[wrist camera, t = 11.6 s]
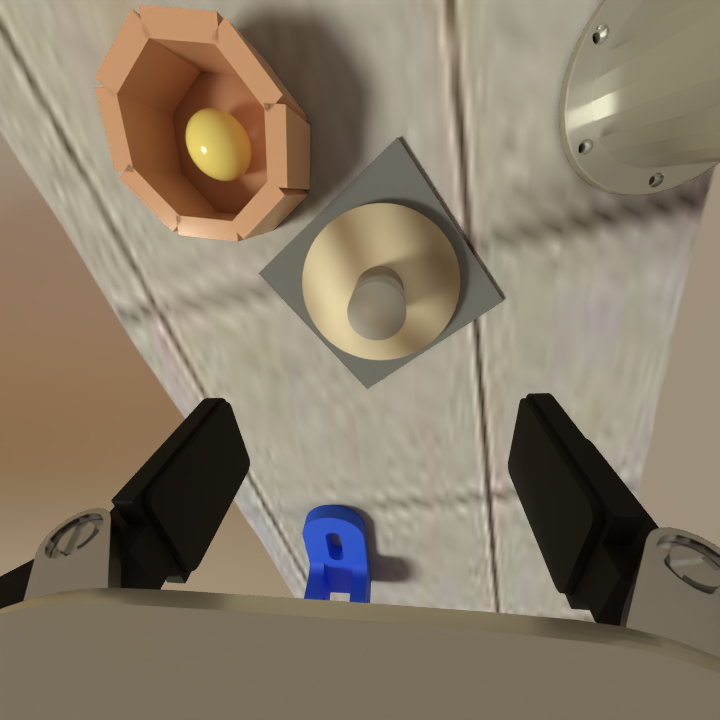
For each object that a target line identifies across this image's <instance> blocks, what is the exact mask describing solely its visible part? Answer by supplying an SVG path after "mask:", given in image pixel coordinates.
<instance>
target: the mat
mask: <svg viewBox="0 0 720 720" xmlns="http://www.w3.org/2000/svg"><path fill="white" fill-rule="evenodd" d="M374 203H391V204H397V205H402V206H405V207H408V208H411V209H413V210H415V211H417V212H419V213H421V214H423V215H424V216H425V217H427V218H428V219H430V220H431V221H432V222H433V223H434V224H436V225H437V226H438V227H439V228H440V229H441V231H442V232H443V233H444V234H445V236H446V237H447V238H448V240H449V242H450V244H451V245H452V247H453V250H454V252H455V255H456V257H457V261H458V265H459V271H460V292H459V298H458V302H457V305H456V308H455V311H454V313H453V315H452V317H451V319H450V321H449V322H448V324H447V326H446V327H445V328H444V330H443V331H442V332H441V333H440V334H439V335H438V336H437V337H436V338H435V339H434V340H433V341H432V342H431V343H429V344H428V345H427V346H425V347H424V348H422V349H420V350H419V351H417V352H415V353H413V354H410V355H408V356H405V357H401V358H397V359H391V360H370V359H364V358H360V357H357V356H353V355H351V354H349V353H347V352H344V351H343V350H341V349H339V348H338V347H336V346H335V345H333V344H332V343H331V342H329V341H328V340H327V339H326V338H325V337H324V336H323V335H322V334H321V332H320V331H319V330H318V329H317V327H316V326H315V324H314V323H313V321H312V319H311V317H310V315H309V313H308V311H307V308H306V305H305V301H304V296H303V288H302V277H303V269H304V264H305V260H306V257H307V254H308V252H309V250H310V248H311V245H312V243H313V242H314V240H315V239H316V237H317V236H318V234H319V233H320V232H321V231H322V230H323V229H324V228H325V227H326V225H328V224H329V223H330V222H331V221H332V220H334V219H335V218H336V217H338V216H340V215H341V214H343V213H344V212H347V211H349V210H351V209H354V208H356V207H359V206H363V205H367V204H374ZM259 274H260V275H261V276H262V277H263V278H264V279H265V281H266V282H267V283H268V284H269V285H270V286H271V287H272V288H273V289H274V290H275V291H276V292H277V293H278V294H279V295H280V297H281V298H282V299H283V300H284V301H285V302H286V303H287V304H288V305H289V306H290V307H291V308H292V309H293V310H294V311H295V313H296V314H297V315H298V316H299V317H300V318H301V319H302V320H303V321H304V322H305V323H306V324H307V325H308V326H309V328H310V329H311V330H312V331H313V332H314V333H315V334H316V335H317V336H318V337H319V338H320V339H321V340H322V341H323V342H324V344H325V345H326V346H327V347H328V348H329V349H330V350H331V351H332V352H333V353H334V354H335V355H336V356H337V357H338V358H339V360H340V361H341V362H342V363H343V364H344V365H345V366H346V367H347V368H348V369H349V370H350V371H351V372H352V373H353V374H354V376H355V377H356V378H357V379H358V380H359V381H360V382H361V383H362V384H363V385H364V386H365V387H366V388H367V389H368V388H369V387H371V386H372V385H374V384H376V383H377V382H379V381H380V380H382V379H383V378H385V377H386V376H388V375H389V374H391V373H393V372H394V371H396V370H397V369H399V368H400V367H402V366H403V365H405V364H406V363H408V362H410V361H411V360H413V359H414V358H416V357H417V356H419V355H420V354H422V353H424V352H425V351H427V350H428V349H430V348H431V347H433V346H434V345H436V344H437V343H439V342H441V341H442V340H444V339H445V338H447V337H448V336H450V335H451V334H453V333H454V332H456V331H458V330H459V329H461V328H462V327H464V326H465V325H467V324H468V323H470V322H471V321H473V320H475V319H476V318H478V317H479V316H481V315H482V314H484V313H485V312H487V311H488V310H490V309H492V308H493V307H495V306H496V305H498V304H499V303H501V302H502V301H503V300H502V298H501V297H500V295H499V293H498V292H497V290H496V289H495V287H494V286H493V284H492V283H491V281H490V280H489V278H488V276H487V275H486V273H485V272H484V270H483V269H482V267H481V266H480V264H479V263H478V261H477V259H476V258H475V256H474V255H473V253H472V252H471V250H470V249H469V247H468V245H467V244H466V242H465V241H464V239H463V238H462V236H461V235H460V233H459V232H458V230H457V228H456V227H455V225H454V224H453V222H452V221H451V219H450V218H449V216H448V215H447V213H446V211H445V210H444V208H443V207H442V205H441V204H440V202H439V201H438V199H437V198H436V196H435V194H434V193H433V191H432V190H431V188H430V187H429V185H428V184H427V182H426V180H425V179H424V177H423V176H422V174H421V173H420V171H419V170H418V168H417V167H416V165H415V163H414V162H413V160H412V159H411V157H410V156H409V154H408V153H407V151H406V150H405V148H404V146H403V145H402V143H401V142H400V140H399V139H398V138H397V139H396V140H394V141H393V142H392V143H391V144H390V145H389V146H388V147H387V148H386V149H385V150H384V151H383V152H382V153H381V154H380V155H379V156H378V157H377V158H376V159H375V160H374V161H373V162H372V163H371V164H370V165H369V166H368V167H367V168H366V169H365V170H364V171H363V172H362V173H361V174H360V175H359V176H358V177H357V178H356V179H355V180H354V181H353V182H352V183H351V184H350V185H349V186H347V187H346V188H345V189H344V190H343V191H342V192H341V193H340V194H339V195H338V196H337V197H336V198H335V199H334V200H333V201H332V202H331V203H330V204H329V205H328V206H327V207H326V208H325V209H324V210H323V211H322V212H321V213H320V214H319V215H318V216H317V217H316V218H315V219H314V220H313V221H312V222H311V223H310V224H309V225H308V226H307V227H306V228H305V229H304V230H303V231H302V232H300V233H299V234H298V235H297V236H296V237H295V238H294V239H293V240H292V241H291V242H290V243H289V244H288V245H287V246H286V247H285V248H284V249H283V250H282V251H281V252H280V253H279V254H278V255H277V256H276V257H275V258H274V259H273V260H272V261H271V262H270V263H269V264H268V265H267V266H266V267H265V268H264V269H263V270H262V271H261V272H260V273H259Z"/></svg>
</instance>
